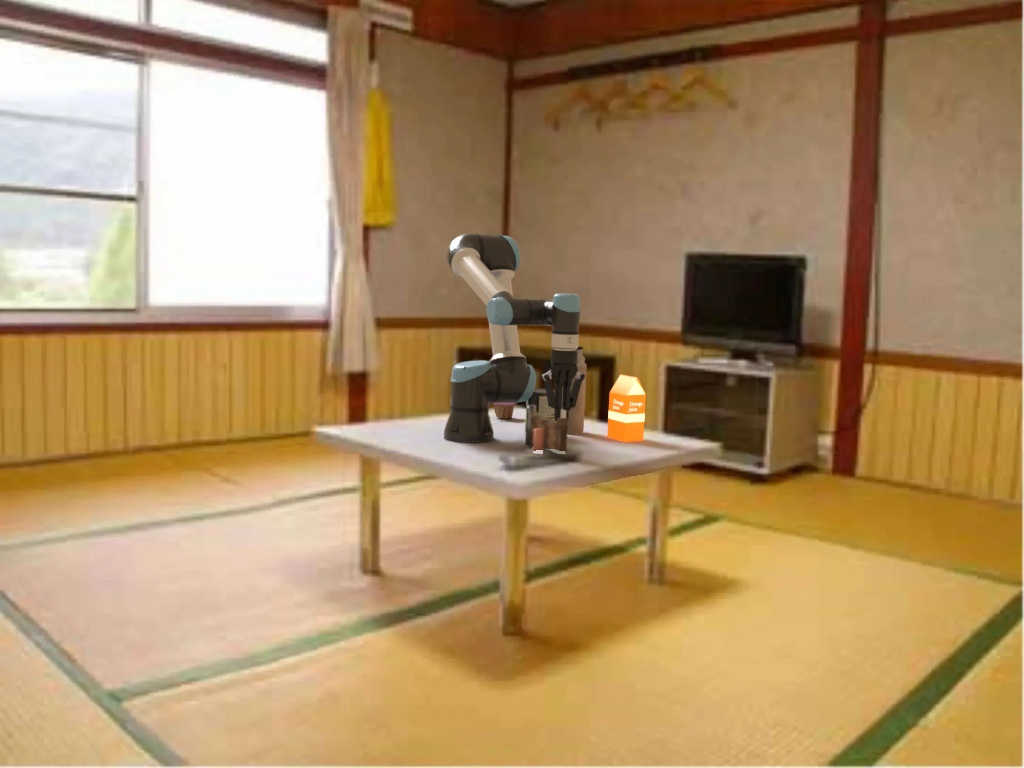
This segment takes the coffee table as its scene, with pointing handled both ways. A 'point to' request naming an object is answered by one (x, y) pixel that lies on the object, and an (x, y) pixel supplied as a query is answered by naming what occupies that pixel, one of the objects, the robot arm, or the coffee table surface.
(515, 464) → the coffee table surface
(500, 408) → the cupcake
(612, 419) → the orange juice
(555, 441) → the gate
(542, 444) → the latch post
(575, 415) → the thermos bottle
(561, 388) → the robot arm
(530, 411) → the hinge post
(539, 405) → the coffee can
